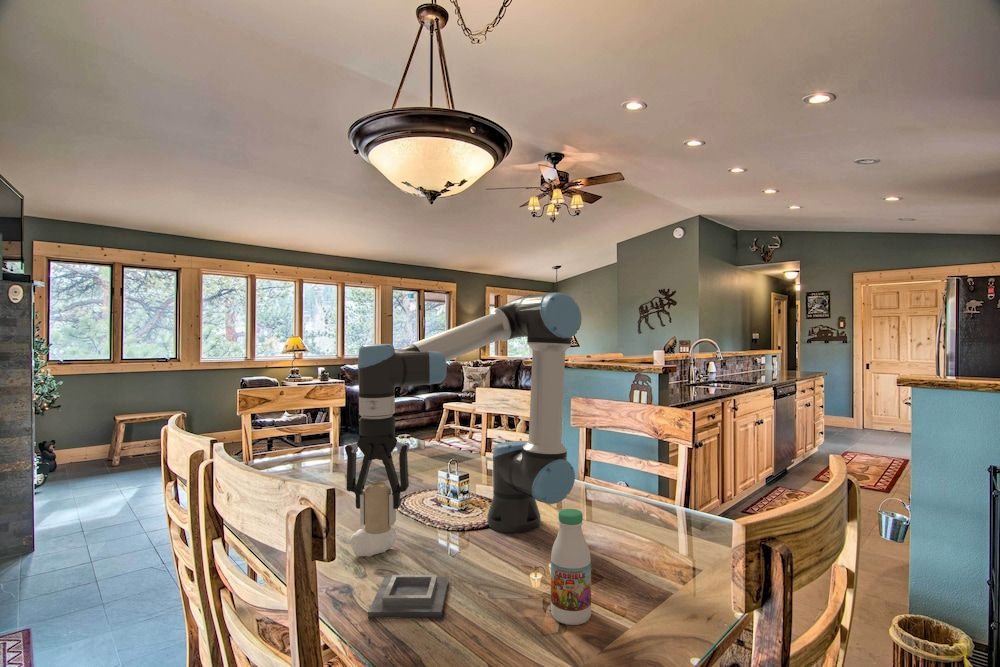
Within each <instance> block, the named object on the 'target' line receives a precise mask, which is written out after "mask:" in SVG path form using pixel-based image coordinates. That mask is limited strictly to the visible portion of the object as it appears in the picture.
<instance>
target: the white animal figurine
mask: <svg viewBox="0 0 1000 667" xmlns="http://www.w3.org/2000/svg"><path fill="white" fill-rule="evenodd" d="M358 516H359V518H360V514H359V515H358ZM396 539H397V532H396V528H395V527H394V525H393V526H391V529H390V530H389V531H388V532H385V533H381V534H369V533H367V532H366V531H365V525H364V526H363V528H360V529H357V530H356V531H355V532H354V533H353V534H352V535H351V537H350V538H349V541H348V542H349V545H350V546H351V549H352V551H353V553H354V555H355V557H368V558H369V557H370V558H371V557H372V556H374V555H379V554H383V552H384V553H385V552H387V550H389V549H391V548H392V547H394V546H395V543H396V541H397V540H396Z"/></svg>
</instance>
